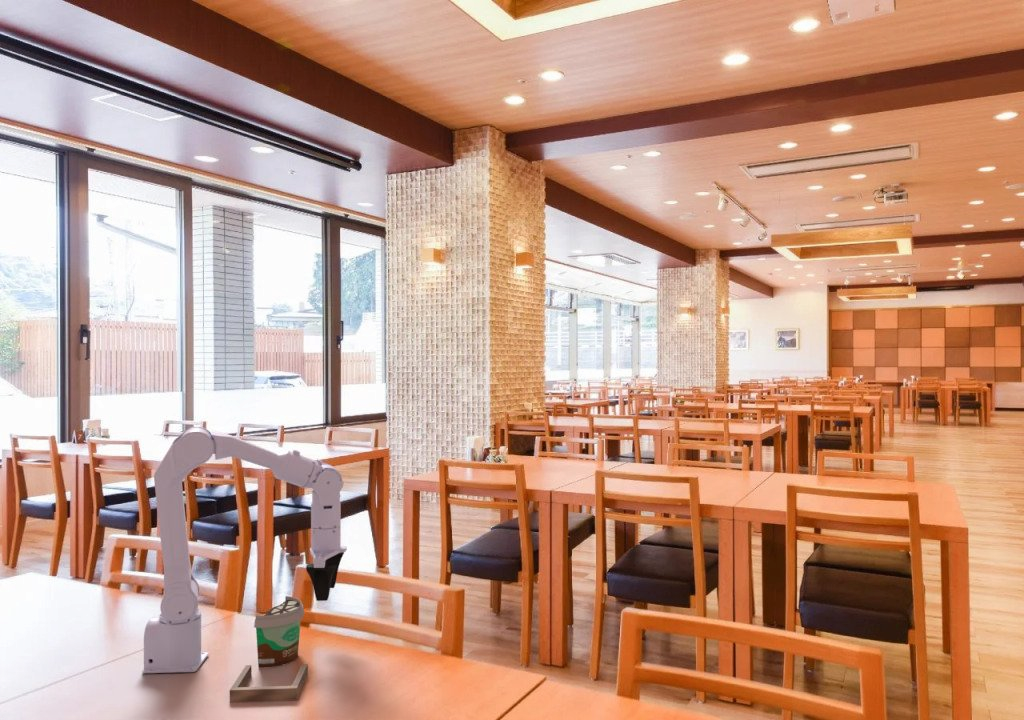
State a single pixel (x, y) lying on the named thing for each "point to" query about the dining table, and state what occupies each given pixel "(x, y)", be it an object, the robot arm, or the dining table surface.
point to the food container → (279, 633)
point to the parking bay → (266, 688)
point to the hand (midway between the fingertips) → (325, 593)
